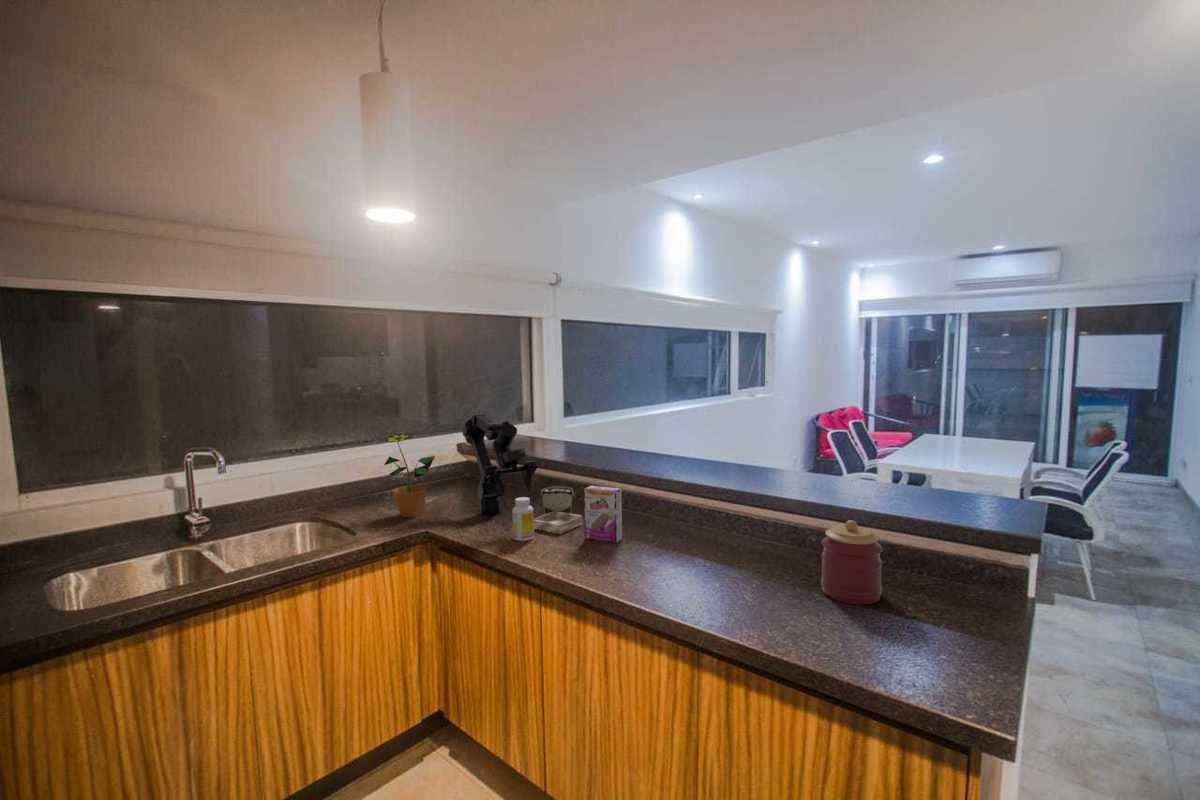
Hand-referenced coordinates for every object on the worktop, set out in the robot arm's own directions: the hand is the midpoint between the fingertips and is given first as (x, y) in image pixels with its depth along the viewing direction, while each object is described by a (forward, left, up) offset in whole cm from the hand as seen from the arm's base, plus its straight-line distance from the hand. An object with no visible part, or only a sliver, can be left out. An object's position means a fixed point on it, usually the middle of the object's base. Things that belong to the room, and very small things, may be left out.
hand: (516, 492), depth 177 cm
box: (+12, +7, -13) cm, 19 cm away
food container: (+8, +20, -13) cm, 26 cm away
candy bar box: (+30, -4, -13) cm, 33 cm away
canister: (+96, -32, -13) cm, 102 cm away
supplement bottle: (+5, -7, -13) cm, 15 cm away
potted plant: (-47, +11, -13) cm, 50 cm away
